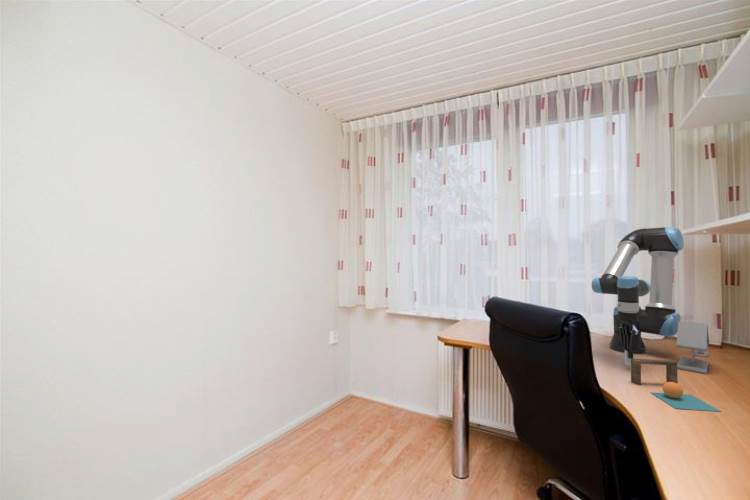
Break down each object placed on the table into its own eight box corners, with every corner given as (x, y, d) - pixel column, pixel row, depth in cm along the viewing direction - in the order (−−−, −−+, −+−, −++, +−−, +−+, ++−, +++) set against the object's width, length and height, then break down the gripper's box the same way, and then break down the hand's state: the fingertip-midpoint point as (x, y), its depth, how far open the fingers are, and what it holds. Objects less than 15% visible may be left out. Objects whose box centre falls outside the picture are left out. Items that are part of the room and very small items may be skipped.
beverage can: (700, 353, 172) (699, 323, 172) (711, 356, 166) (710, 326, 166) (689, 353, 172) (688, 323, 172) (699, 356, 166) (699, 326, 166)
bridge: (631, 381, 135) (630, 358, 135) (672, 383, 133) (671, 360, 133) (635, 384, 132) (635, 360, 132) (677, 386, 130) (677, 362, 130)
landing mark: (650, 392, 124) (650, 392, 124) (691, 395, 122) (690, 394, 122) (675, 408, 111) (675, 408, 111) (721, 411, 109) (721, 411, 109)
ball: (663, 399, 121) (656, 384, 124) (680, 401, 120) (673, 385, 123) (671, 395, 116) (664, 379, 120) (689, 396, 115) (682, 380, 119)
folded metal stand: (706, 374, 142) (705, 327, 142) (676, 369, 149) (675, 323, 149) (709, 364, 155) (708, 320, 155) (681, 360, 162) (680, 318, 162)
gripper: (611, 308, 157) (612, 360, 156) (627, 313, 144) (628, 369, 143) (629, 309, 155) (630, 360, 155) (646, 314, 142) (647, 370, 142)
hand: (629, 364), depth 149 cm, fingers closed
